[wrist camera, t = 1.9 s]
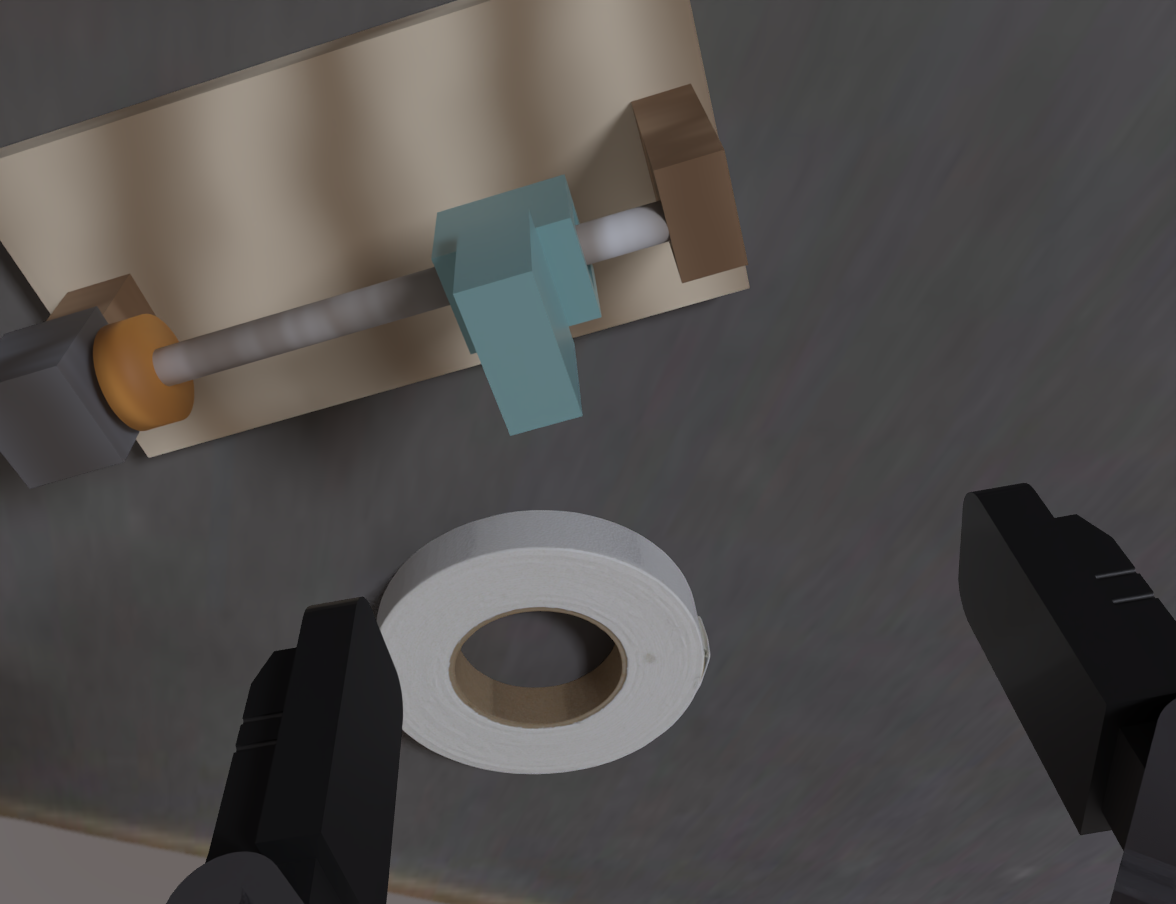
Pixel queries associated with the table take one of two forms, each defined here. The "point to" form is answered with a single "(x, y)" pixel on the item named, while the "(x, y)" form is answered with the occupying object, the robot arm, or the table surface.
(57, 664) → the table surface
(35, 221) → the cable board
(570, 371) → the teal stepped block
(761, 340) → the table surface
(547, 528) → the roll of tape
